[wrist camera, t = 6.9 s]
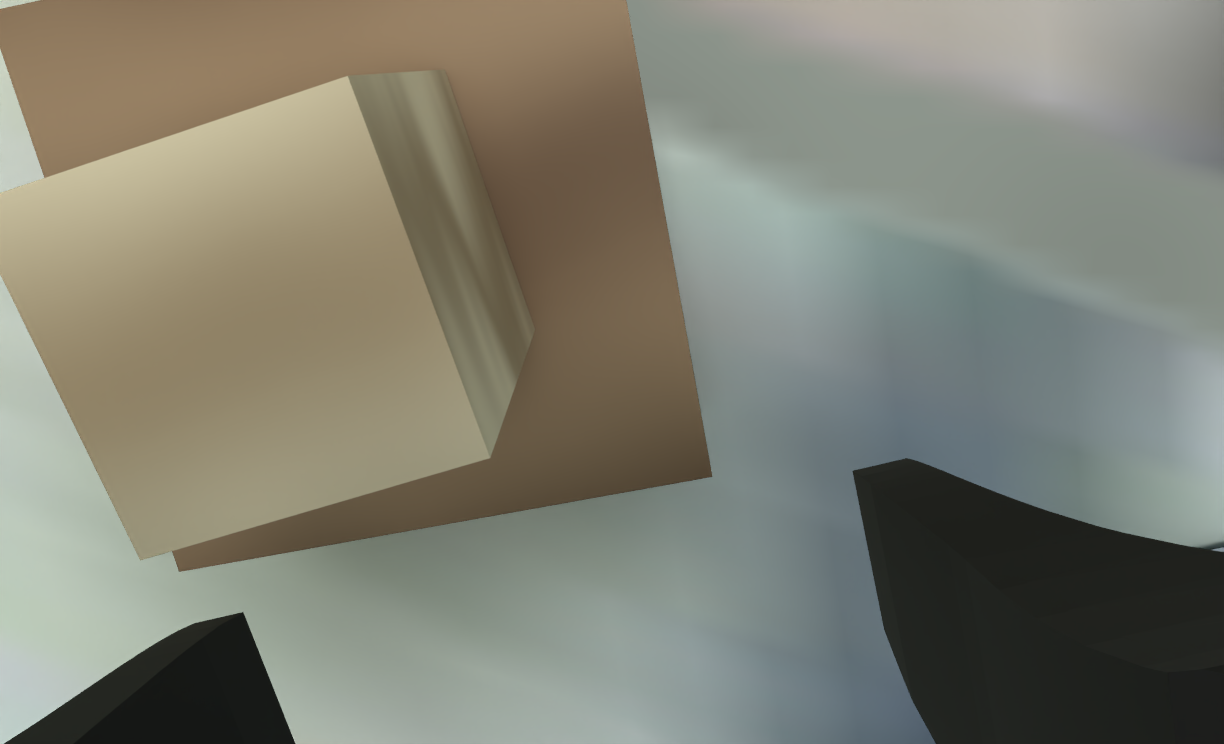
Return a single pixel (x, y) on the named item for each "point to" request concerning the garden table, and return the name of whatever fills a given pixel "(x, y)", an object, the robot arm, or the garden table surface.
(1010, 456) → the garden table surface
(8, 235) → the brass block
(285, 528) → the walnut box
